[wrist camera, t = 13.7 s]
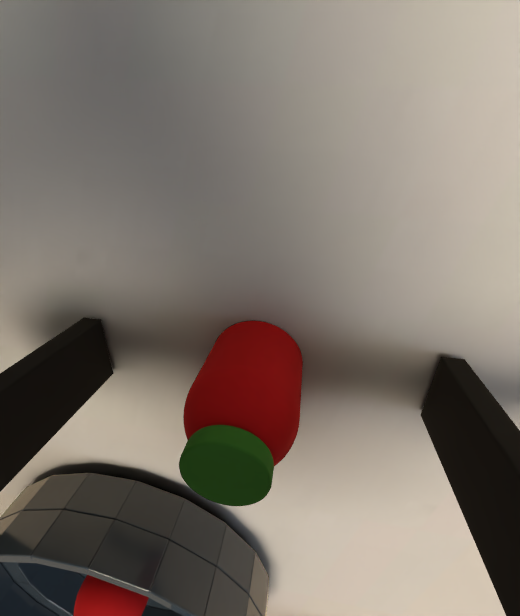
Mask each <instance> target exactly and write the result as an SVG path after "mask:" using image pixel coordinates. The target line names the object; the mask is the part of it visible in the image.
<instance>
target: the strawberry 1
mask: <svg viewBox="0 0 520 616" xmlns="http://www.w3.org/2000/svg"><path fill="white" fill-rule="evenodd" d="M148 599H149V597H147V596H144V595H141V594H139V593H136V592H133V591H131V590H128V589H125V588H122V587H120V586H117V585H114V584H112V583H109V582H106V581H104V580H101V579H98V578H95V577H93V576H90V575H87V576H86V578H85V580H84V581H83V583H82V585H81V587H80V589H79V592H78V594H77V598H76V601H75V607H74V616H142V614H143V611H144V609H145V606H146V604H147V601H148Z"/></svg>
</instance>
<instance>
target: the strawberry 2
mask: <svg viewBox="0 0 520 616" xmlns="http://www.w3.org/2000/svg"><path fill="white" fill-rule="evenodd" d="M302 366H303V360H302V355H301V351H300V349H299V347H298V345H297V344H296V342H295V341H294V340H293V338H292V337H291V336H290V335H289V334H288V333H286V332H285V331H284V330H282V329H281V328H279V327H277V326H275V325H272V324H269V323H266V322H261V321H245V322H240V323H237V324H234V325H232V326H230V327H229V328H227V329H226V330H224V331H223V332H222V333H221V334H220V336H219V337H218V339H217V340H216V342H215V344H214V346H213V348H212V350H211V351H210V353H209V355H208V357H207V359H206V361H205V362H204V364H203V366H202V368H201V370H200V372H199V373H198V375H197V377H196V379H195V381H194V383H193V384H192V386H191V388H190V390H189V393H188V395H187V398H186V402H185V407H184V428H185V433H186V436H187V439H188V442H187V444H186V446H185V448H184V451H183V453H182V455H181V457H180V462H179V469H180V473H181V475H182V478H183V479H184V481H185V482H186V484H187V485H188V486H189V487H190V488H191V489H192V490H193V491H195V492H196V493H197V494H199V495H201V496H202V497H204V498H206V499H208V500H210V501H213V502H216V503H219V504H223V505H229V506H245V505H250V504H254V503H256V502H258V501H260V500H262V499H263V498H264V497H265V496H266V495H267V494H268V492H269V490H270V488H271V484H272V477H273V469H274V466H275V465H277V464H278V463H279V462H280V461H281V460H282V459H283V458H284V457H285V456H286V454H287V453H288V452H289V450H290V449H291V447H292V445H293V443H294V441H295V438H296V435H297V432H298V428H299V421H300V403H301V385H302Z"/></svg>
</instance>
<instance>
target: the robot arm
mask: <svg viewBox="0 0 520 616" xmlns="http://www.w3.org/2000/svg"><path fill="white" fill-rule="evenodd" d="M112 374H113V370H112V365H111V361H110V357H109V352H108V348H107V344H106V339H105V335H104V331H103V326H102V322H101V319H93V318H83V319H81V320H80V321H78V322H77V323H75V324H74V325H72V326H71V327H69V328H68V329H66V330H65V331H63V332H62V333H60V334H59V335H57V336H56V337H54V338H53V339H51V340H50V341H48V342H47V343H45V344H44V345H42V346H41V347H39V348H38V349H36V350H35V351H33V352H32V353H30V354H29V355H27V356H26V357H24V358H23V359H21V360H20V361H18V362H17V363H15V364H14V365H12V366H11V367H9V368H8V369H6V370H5V371H3V372H2V373H0V491H1V490H2V489H3V488H4V487H5V486H6V485H7V484H8V483H9V482H10V481H11V480H12V479H13V478H14V477H15V476H16V475H17V474H18V472H19V471H20V470H21V469H22V468H23V467H24V466H25V465H26V464H27V463H28V462H29V461H30V460H31V459H32V458H33V457H34V456H35V455H36V454H37V453H38V452H39V451H40V449H41V448H42V447H43V446H44V445H45V444H46V443H47V442H48V441H49V440H50V439H51V438H52V437H53V436H54V435H55V434H56V433H57V432H58V431H59V430H60V429H61V428H62V426H63V425H64V424H65V423H66V422H67V421H68V420H69V419H70V418H71V417H72V416H73V415H74V414H75V413H76V412H77V411H78V410H79V409H80V408H81V407H82V406H83V405H84V403H85V402H86V401H87V400H88V399H89V398H90V397H91V396H92V395H93V394H94V393H95V392H96V391H97V390H98V389H99V388H100V387H101V386H102V385H103V384H104V383H105V382H106V380H107V379H108V378H109V377H110V376H111V375H112ZM421 417H422V419H423V421H424V424H425V426H426V428H427V431H428V433H429V435H430V438H431V440H432V442H433V445H434V447H435V449H436V452H437V454H438V457H439V459H440V461H441V464H442V466H443V468H444V471H445V473H446V475H447V478H448V480H449V482H450V485H451V487H452V489H453V492H454V494H455V496H456V499H457V501H458V503H459V506H460V508H461V510H462V513H463V515H464V517H465V520H466V522H467V524H468V527H469V529H470V532H471V534H472V536H473V539H474V541H475V543H476V546H477V548H478V550H479V553H480V555H481V557H482V560H483V562H484V564H485V567H486V569H487V571H488V574H489V576H490V578H491V581H492V583H493V585H494V588H495V590H496V592H497V595H498V597H499V600H500V602H501V604H502V607H503V609H504V611H505V614H506V616H520V431H519V429H518V428H517V427H516V425H515V424H514V423H513V421H512V420H511V419H510V418H509V416H508V415H507V414H506V412H505V411H504V410H503V409H502V407H501V406H500V405H499V403H498V402H497V401H496V399H495V398H494V397H493V396H492V394H491V393H490V392H489V390H488V389H487V388H486V387H485V385H484V384H483V383H482V381H481V380H480V379H479V377H478V376H477V375H476V374H475V372H474V371H473V370H472V368H471V367H470V366H469V364H468V363H467V362H466V361H465V359H456V358H447V357H441V359H440V362H439V365H438V368H437V371H436V373H435V376H434V379H433V382H432V385H431V387H430V390H429V393H428V396H427V399H426V401H425V404H424V407H423V410H422V413H421Z"/></svg>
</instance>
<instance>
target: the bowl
mask: <svg viewBox="0 0 520 616" xmlns="http://www.w3.org/2000/svg"><path fill="white" fill-rule="evenodd" d="M87 575H90V576H93V577H95V578H98V579H101V580H104V581H106V582H109V583H112V584H114V585H117V586H120V587H122V588H125V589H128V590H131V591H133V592H136V593H139V594H141V595H144V596H147V597H149V599H148V601H147V604H146V606H145V609H144V611H143V614H142V616H266V613H267V603H268V588H269V576H268V574H267V572H266V570H265V568H264V566H263V564H262V563H261V561H260V559H259V557H258V555H257V553H256V551H254V550H253V549H252V548H251V547H250V546H249V545H248V544H247V543H246V542H245V541H244V540H243V539H242V538H241V537H240V536H239V535H238V534H237V533H236V532H235V531H233V530H232V529H231V528H230V527H229V526H228V525H227V524H226V523H225V522H223V521H222V520H220V519H218V518H217V517H215V516H213V515H212V514H210V513H208V512H207V511H205V510H203V509H202V508H200V507H198V506H197V505H195V504H193V503H192V502H190V501H188V500H187V499H184V498H182V497H180V496H177V495H174V494H172V493H169V492H166V491H164V490H161V489H158V488H156V487H153V486H150V485H148V484H145V483H142V482H140V481H136V480H131V479H125V478H119V477H113V476H107V475H101V474H96V473H76V474H61V475H51V476H49V477H47V478H45V479H43V480H41V481H38V482H36V483H34V484H32V485H30V486H28V487H26V488H25V489H24V491H23V492H22V493H21V494H20V495H19V496H18V497H17V499H16V500H15V501H14V502H13V503H12V504H11V505H10V506H9V508H8V509H7V510H6V511H5V512H4V513H3V514H2V516H1V517H0V616H74V607H75V601H76V598H77V594H78V592H79V589H80V587H81V585H82V583H83V581H84V580H85V578H86V576H87Z"/></svg>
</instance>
